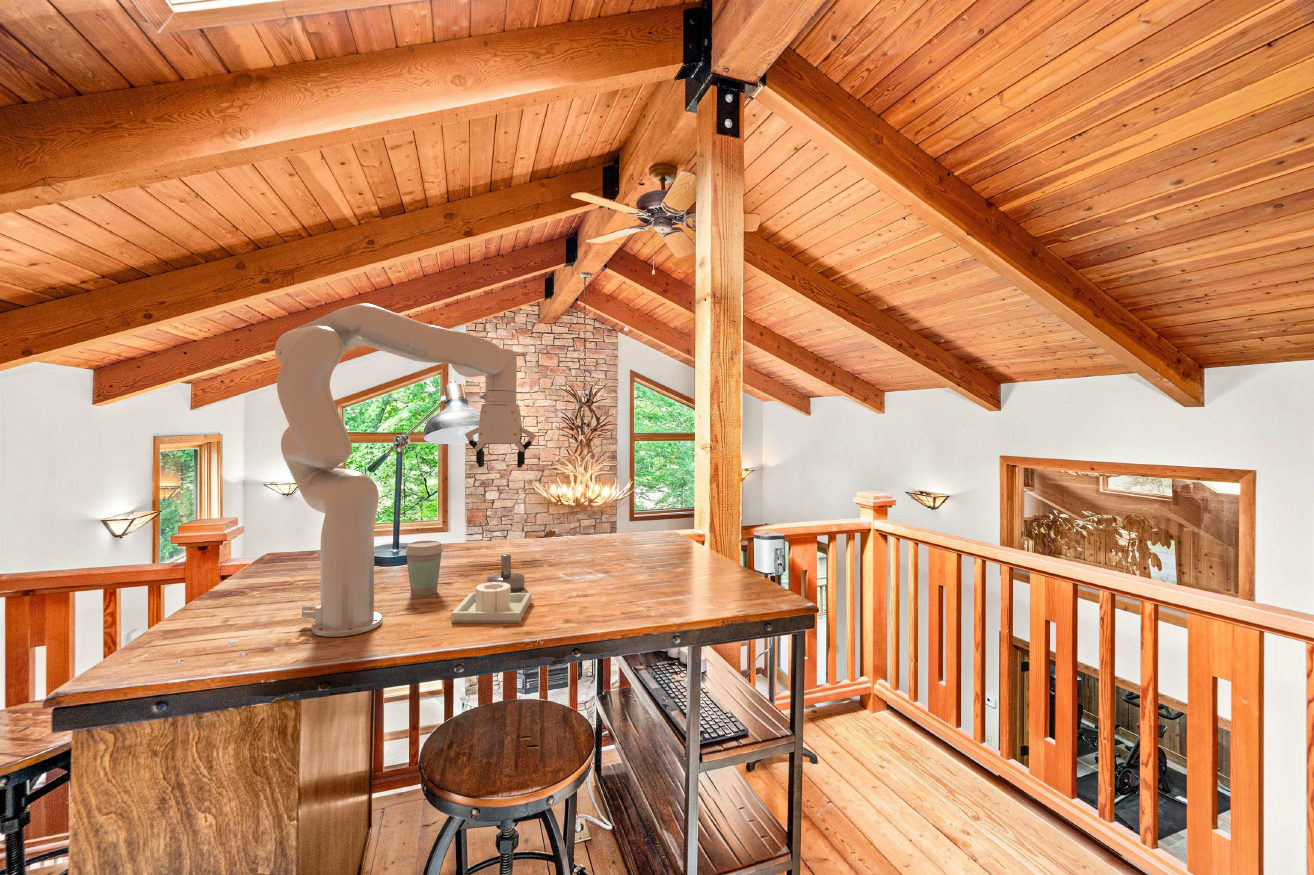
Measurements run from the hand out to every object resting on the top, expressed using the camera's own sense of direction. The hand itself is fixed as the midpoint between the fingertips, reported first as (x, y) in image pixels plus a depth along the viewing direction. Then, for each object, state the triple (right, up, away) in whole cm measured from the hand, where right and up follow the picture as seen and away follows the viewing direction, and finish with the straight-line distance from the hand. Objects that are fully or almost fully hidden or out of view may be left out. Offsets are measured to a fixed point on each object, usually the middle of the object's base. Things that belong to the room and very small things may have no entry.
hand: (500, 467), depth 145 cm
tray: (+3, -31, -18) cm, 36 cm away
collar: (+3, -30, -18) cm, 35 cm away
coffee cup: (-17, -31, -5) cm, 35 cm away
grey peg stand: (+2, -30, -1) cm, 31 cm away
